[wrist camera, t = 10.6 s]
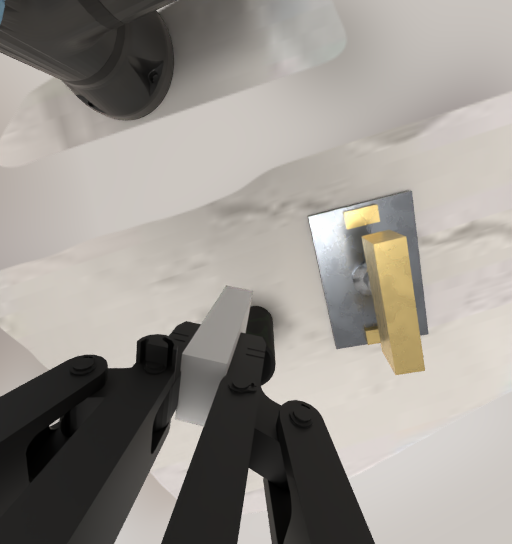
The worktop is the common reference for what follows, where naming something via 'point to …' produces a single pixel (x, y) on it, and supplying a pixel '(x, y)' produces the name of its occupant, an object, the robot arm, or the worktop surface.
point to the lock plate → (361, 264)
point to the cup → (263, 327)
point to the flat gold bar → (394, 300)
